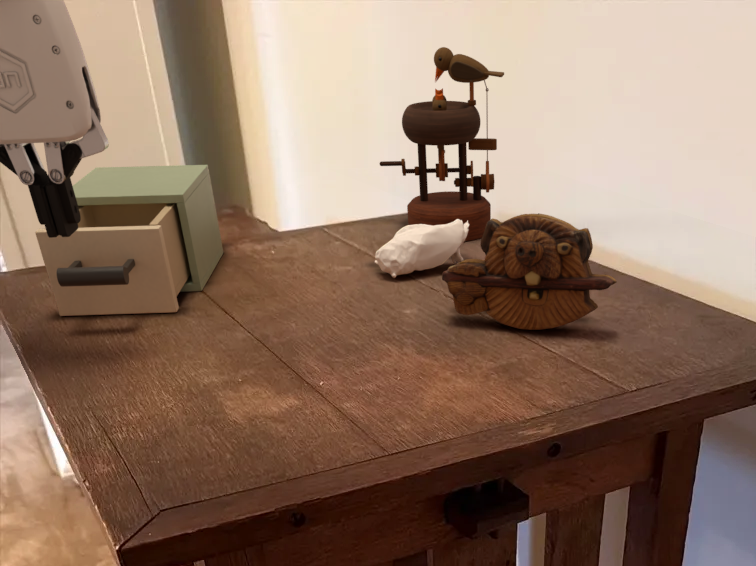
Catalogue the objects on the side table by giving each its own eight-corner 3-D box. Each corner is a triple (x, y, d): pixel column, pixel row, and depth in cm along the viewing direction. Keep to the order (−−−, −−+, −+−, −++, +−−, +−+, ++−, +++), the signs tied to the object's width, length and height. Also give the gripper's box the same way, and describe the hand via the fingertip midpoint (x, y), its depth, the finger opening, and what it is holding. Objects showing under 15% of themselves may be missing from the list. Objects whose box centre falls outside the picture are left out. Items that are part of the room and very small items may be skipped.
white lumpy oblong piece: (440, 270, 107) (365, 262, 102) (457, 210, 103) (379, 199, 98) (461, 288, 105) (385, 282, 99) (478, 229, 101) (400, 218, 95)
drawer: (166, 329, 86) (146, 243, 81) (43, 334, 86) (16, 246, 81) (201, 271, 101) (186, 194, 96) (96, 274, 100) (76, 197, 96)
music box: (492, 216, 122) (495, 39, 108) (510, 246, 114) (516, 58, 100) (378, 223, 119) (367, 43, 106) (389, 253, 111) (377, 63, 98)
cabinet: (201, 291, 98) (182, 194, 92) (83, 294, 98) (56, 197, 92) (223, 253, 110) (207, 164, 104) (117, 256, 109) (95, 167, 103)
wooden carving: (438, 330, 88) (434, 219, 82) (450, 314, 91) (446, 207, 85) (609, 342, 85) (618, 227, 79) (615, 325, 88) (623, 214, 82)
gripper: (-146, -34, 62) (-44, 249, 73) (76, -41, 63) (143, 241, 74) (-98, -37, 68) (-10, 225, 79) (104, -44, 69) (163, 218, 80)
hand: (63, 232), depth 77 cm, fingers closed
